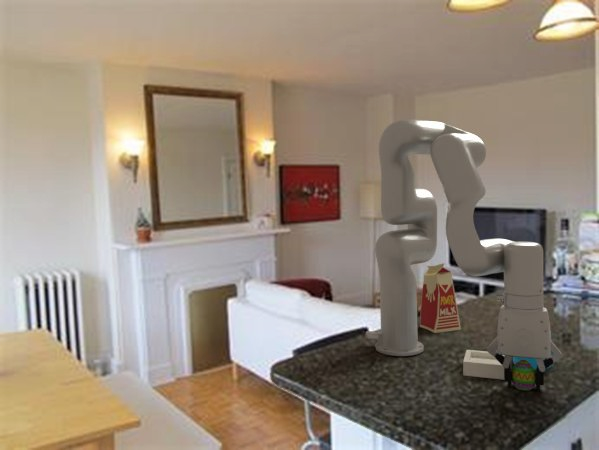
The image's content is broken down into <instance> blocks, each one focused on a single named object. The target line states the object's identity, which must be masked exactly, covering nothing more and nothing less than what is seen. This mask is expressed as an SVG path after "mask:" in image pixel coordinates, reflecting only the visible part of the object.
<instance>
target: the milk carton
mask: <svg viewBox="0 0 599 450" xmlns="http://www.w3.org/2000/svg"><path fill="white" fill-rule="evenodd" d="M444 266H445V263H440V264H437V265H426V267H427V268H428V269H427V271H426V272H425V274H424V276H423V282H422V283H423V284H422V290H421V302H420V315H419V316H420V317H419V327H420V328H422V329H425V330H428V331H430V332H432V333H434V334H438V333H445V332H447V333H448V332H453V331H459V330H460V331H461V330H462V328H461V327H462V326H461V322H460V321H461V320H460V316H459V310H458V303H457V299H456V298H457V297H456V293H455V292H456V291H455V286H454V280H453V275H452V271H451V270H448V269H447V268H445V267H444Z"/></svg>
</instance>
